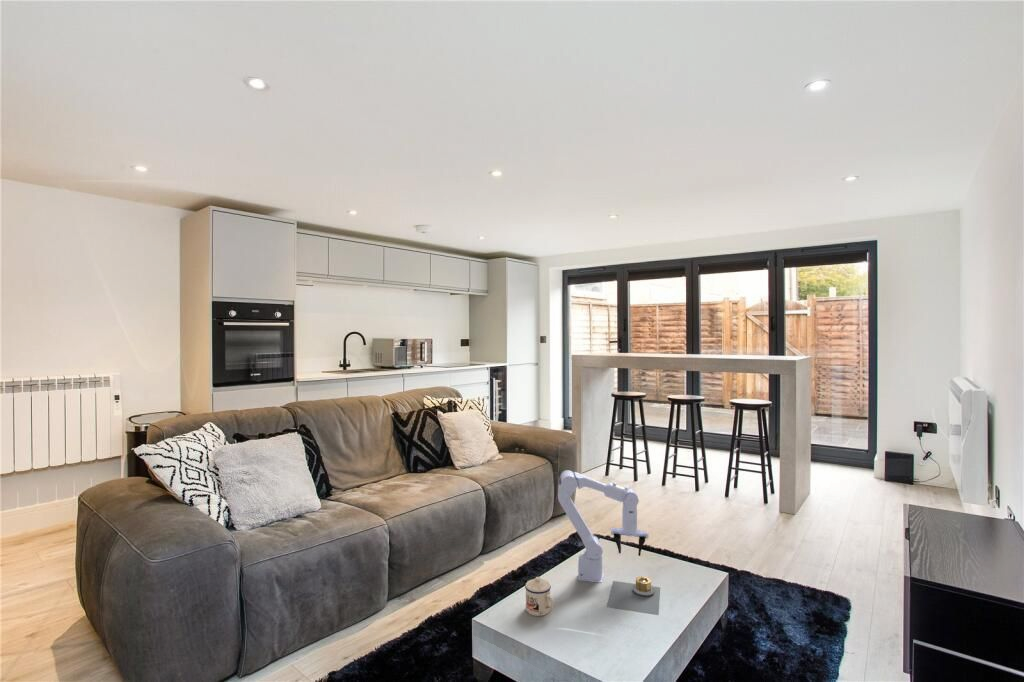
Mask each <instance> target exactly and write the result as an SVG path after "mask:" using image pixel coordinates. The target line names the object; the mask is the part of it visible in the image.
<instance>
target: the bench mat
mask: <svg viewBox="0 0 1024 682" xmlns="http://www.w3.org/2000/svg"><path fill="white" fill-rule="evenodd" d="M635 584H636V583H632V582H625V581H618V580H612V583H611V588H610V591H609V596H608V599H607V603H606V608H610V609H615V610H616V609H617V610H623V611H629V612H637V613H643V614H649V615H655V616H659V615H660V613H659V612H660V599H661V587H660V586H653V585H652V586H653V587H654V595H652V596H650V597H642V596H638V595H636V594H635V593H634V592H633V585H635Z"/></svg>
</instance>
